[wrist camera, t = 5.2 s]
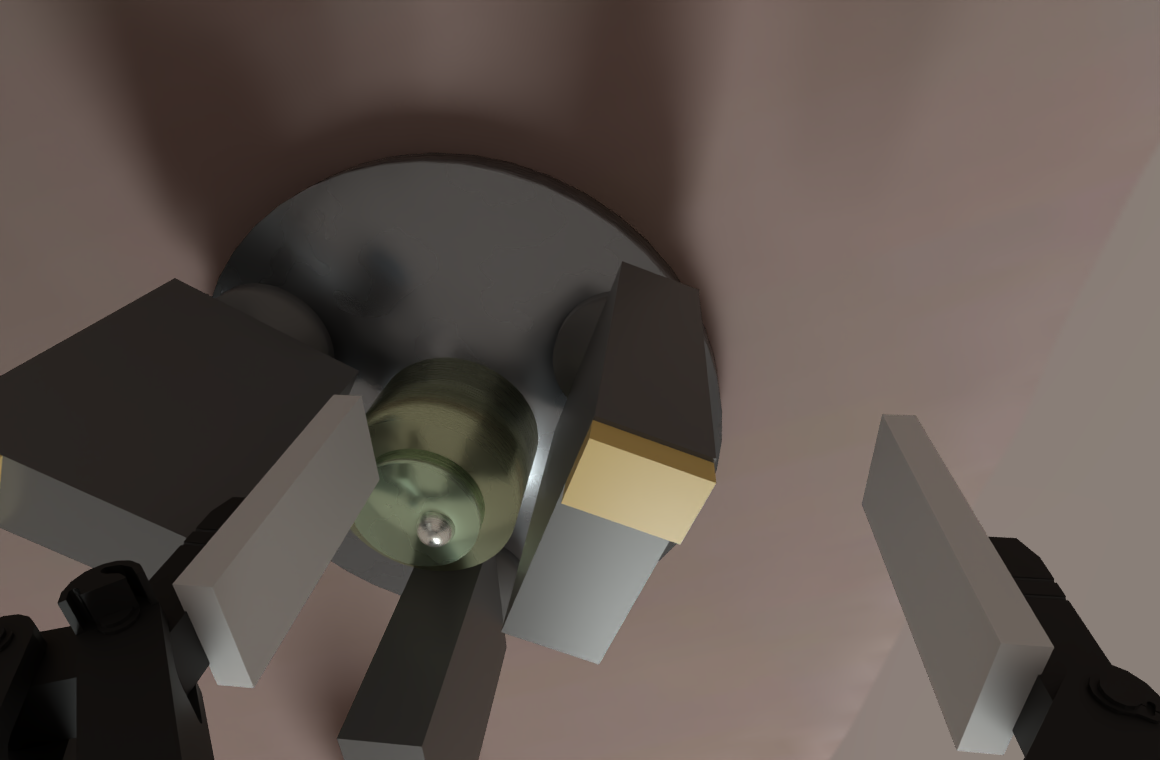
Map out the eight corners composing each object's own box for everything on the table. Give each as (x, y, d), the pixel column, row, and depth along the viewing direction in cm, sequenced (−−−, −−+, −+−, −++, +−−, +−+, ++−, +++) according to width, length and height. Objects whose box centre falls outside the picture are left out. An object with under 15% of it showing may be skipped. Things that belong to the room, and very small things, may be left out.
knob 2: (412, 513, 26) (292, 756, 18) (522, 519, 26) (451, 772, 17) (434, 626, 29) (340, 878, 21) (532, 633, 29) (477, 894, 21)
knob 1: (377, 337, 23) (203, 539, 14) (338, 429, 25) (166, 652, 16) (196, 244, 22) (-108, 400, 13) (171, 347, 24) (-104, 540, 15)
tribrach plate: (126, 318, 26) (-39, 415, 20) (536, 25, 19) (477, 36, 13) (427, 633, 33) (373, 775, 27) (803, 497, 26) (843, 644, 20)
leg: (649, 449, 24) (638, 700, 15) (531, 407, 23) (452, 640, 15) (728, 291, 20) (770, 498, 12) (592, 240, 20) (537, 414, 12)
